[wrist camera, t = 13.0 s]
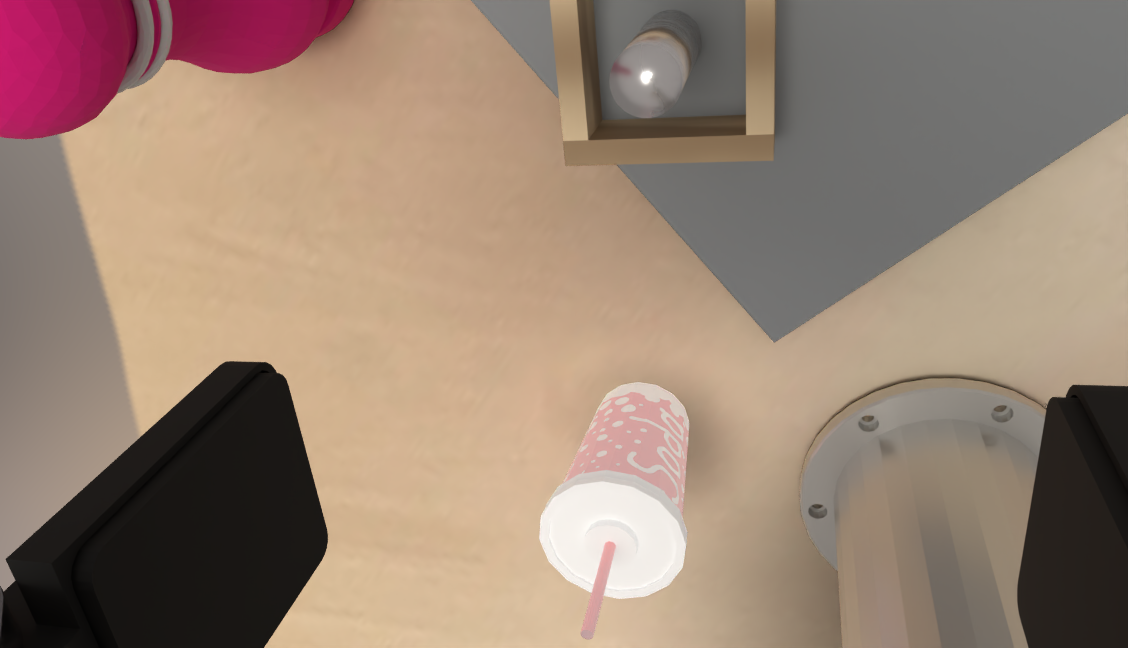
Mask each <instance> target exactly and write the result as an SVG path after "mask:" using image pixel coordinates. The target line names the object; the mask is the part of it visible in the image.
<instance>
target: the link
mask: <svg viewBox="0 0 1128 648" xmlns="http://www.w3.org/2000/svg"><path fill="white" fill-rule="evenodd" d="M550 10H551V21H552V31H553V41H554V52H555V62H556V73H557V83H558V93H559V104H560V114H561V125H562V135H563V145H564V156H565V166H583V165H621V164H660V163H699V162H738V161H774V145H775V81H776V0H746V115H724V116H697V117H671V118H644V119H618V120H602V110H601V97H600V83H599V70H598V57H597V44H596V30H595V17H594V4H593V0H550Z"/></svg>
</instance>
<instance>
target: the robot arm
mask: <svg viewBox="0 0 1128 648" xmlns="http://www.w3.org/2000/svg"><path fill="white" fill-rule="evenodd" d="M1000 405H1002V406H1000ZM997 406H1000V407H997ZM867 415H870V416H868V417H866V416H867ZM800 509H801V516H802V519H803V522H804V524H805V527H806V530H807V533H808V536H809V537H810V539H811V541H812V542H813V544H814V545H815V547H816V549H817V550H818V552H819V553H820V554H821V555H822V557H823V558H824V559H825V560H826V561H827V562H828V563H829V564H830V565H831V566H832V567H833V568H834V569H835V570H836V571H838V584H839V601H840V618H841V635H842V648H1128V386H1098V385H1072V386H1071V387H1070V388H1069V390H1068V392H1067V395H1066V398H1061V397H1052V398H1051V399H1050V400H1049V403H1048V405H1047V410H1046V409H1044V408H1043V407H1042V406H1041V405H1039V404H1038V403H1036V402H1034V401H1032V400H1030V399H1028V398H1026V397H1025V396H1023V395H1021V394H1019V393H1017V392H1015V391H1012V390H1009V389H1006V388H1003V387H1000V386H997V385H993V384H990V383H987V382H980V381H973V380H967V379H960V378H934V379H923V380H917V381H911V382H905V383H900V384H897V385H894V386H891V387H888V388H885V389H882V390H879V391H876V392H873V393H871V394H869V395H868V396H866V397H864V398H862V399H860V400H858V401H856V402H854V403H852V404H851V405H849V406H848V407H847V408H845V409H844V410H843V411H842V412H840V413H839V414H838V415H836V416H835V417H834V418H833V419H831V421H830V422H829V423H828V424H827V425H826V426H825V427H824V429H823V430H822V431H821V432H820V433H819V434H818V436H817V437H816V438H815V440H814V442H813V444H812V446H811V448H810V449H809V451H808V453H807V455H806V458H805V461H804V465H803V468H802V472H801V476H800ZM327 543H328V533H327V528H326V524H325V520H324V517H323V513H322V509H321V505H320V502H319V498H318V494H317V490H316V487H315V483H314V479H313V475H312V472H311V468H310V464H309V461H308V457H307V453H306V449H305V446H304V442H303V438H302V434H301V431H300V427H299V423H298V419H297V416H296V412H295V408H294V405H293V401H292V397H291V393H290V390H289V386H288V383H287V380H286V379H285V377H284V376H283V375H281V374H279V373H276V370H275V369H274V368H273V366H272V365H270V364H268V363H267V362H235V361H230V362H225V363H223V364H221V365H220V366H219V367H218V368H216V369H215V370H214V371H213V372H212V373H211V374H210V375H209V376H208V377H206V378H205V379H204V380H203V381H202V382H201V383H200V384H199V385H198V386H196V387H195V388H194V389H193V390H192V391H191V392H190V393H189V394H188V395H187V396H185V397H184V398H183V399H182V400H181V401H180V402H179V403H178V404H177V405H175V406H174V407H173V408H172V409H171V410H170V411H169V412H168V413H167V414H166V415H164V416H163V417H162V418H161V419H160V420H159V421H158V422H157V423H156V424H154V425H153V426H152V427H151V428H150V429H149V430H148V431H147V432H146V433H145V434H143V435H142V436H141V437H140V438H139V439H138V440H137V441H136V442H135V443H134V444H132V445H131V446H130V447H129V448H128V449H127V450H126V451H125V452H124V453H122V454H121V455H120V456H119V457H118V458H117V459H116V460H115V461H114V462H112V464H110V465H109V466H108V467H107V468H106V469H105V470H104V471H103V472H101V473H100V474H99V475H98V476H97V477H96V478H95V479H94V480H93V481H92V482H90V483H89V484H88V485H87V486H86V487H85V488H84V489H83V490H82V491H80V492H79V493H78V494H77V495H76V496H75V497H74V498H73V499H72V500H71V501H70V502H68V503H67V504H66V505H65V506H64V507H63V508H62V509H61V510H60V511H58V512H57V513H56V514H55V515H54V516H53V517H52V518H51V519H49V521H47V522H46V523H45V524H44V525H43V526H42V527H41V528H40V529H39V530H37V531H36V532H35V533H34V534H33V535H32V536H31V537H30V538H28V540H26V541H25V542H24V543H23V544H22V545H21V546H20V547H19V548H18V549H16V550H15V551H14V552H13V553H12V554H11V555H10V556H9V557H8V558H6V561H7V563H8V565H9V567H10V570H11V572H12V574H13V576H14V578H15V580H16V581H15V582H14V583H13V584H11V585H10V586H9V587H8V588H7V589H6V590H5V591H4V592H3V590H2V588H1V586H0V648H264V647H265V645H266V644H267V642H268V641H269V639H270V638H271V636H272V635H273V633H274V632H275V630H276V629H277V627H278V626H279V624H280V623H281V621H282V620H283V618H284V617H285V615H286V614H287V612H288V611H289V609H290V608H291V606H292V605H293V603H294V601H295V600H296V598H297V597H298V595H299V594H300V592H301V591H302V589H303V588H304V586H305V585H306V583H307V582H308V580H309V579H310V577H311V576H312V574H313V573H314V571H315V570H316V568H317V567H318V565H319V564H320V562H321V561H322V559H323V557H324V555H325V552H326V549H327Z"/></svg>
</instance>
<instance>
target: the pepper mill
mask: <svg viewBox="0 0 1128 648" xmlns="http://www.w3.org/2000/svg"><path fill="white" fill-rule="evenodd" d="M353 1H354V0H0V137H4V138H15V139H34V138H43V137H47V136H52V135H57V134H61V133H65V132H69V131H71V130H74V129H76V128H78V127H80V126H82V125H84V124H86V123H87V122H89V121H91V120H93V119H94V118H96V117H97V116H98V115H99V114H100V113H101V112H102V110H103V109H104V108H105V107H106V106H107V105H108V104H109V102H110V101H111V100H112V99H113V98H114V97H115V95H116V94H117V93H120V92H123V91H124V90H126V89H130V88H134V87H136V86H139V85H142V84H144V83H145V82H147V81H148V80H150V79H151V78H152V77H153V76H154V75H155V74H156V73H157V72H158V71H159V70H160V68H161V67H162V65H163V64H164V62H165V60H181V61H185V62H189V63H192V64H194V65H197V66H199V67H202V68H204V69H208V70H212V71H216V72H225V73H255V72H259V71H264V70H268V69H272V68H276V67H278V66H281V65H283V64H286V63H289V62H290V61H292V60H293V59H295V58H296V57H298V56H299V55H300V54H301V53H303V52H304V51H305V50H306V49H307V48H308V47H309V45H310V44H311V43H312V42H313V40H314V39H315V38H316V37H319V36H321V35H323V34H325V33H327V32H329V31H330V30H332V29H334V28H335V27H336V26H337V25H338V24H339V23H340V22H341V21H342V20H343V19H344V17H345V16H346V14H347V13H348V11H349V10H350V8H351V6H352V4H353Z"/></svg>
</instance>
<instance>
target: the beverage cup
mask: <svg viewBox="0 0 1128 648" xmlns="http://www.w3.org/2000/svg"><path fill="white" fill-rule="evenodd" d="M688 434H689V420H688V417H687V413H686V410H685V407H684V406H683V405H682V404H681V403H680V401H679V400H678V399H677V398H676V397H675V396H674V395H673V394H672V393H670V392H669V391H667V390H665V389H663V388H661V387H659V386H658V385H654V384H648V383H642V382H635V383H629V384H624V385H620V386H618V387H617V388H615V389H614V390H612V391H611V392H609V393H607V394H606V396H605V398H604V399H603V401H602V402H601V404H600V405H599V407H598V409H597V411H596V414H595V416H594V418H593V420H592V422H591V424H590V426H589V428H588V430H587V433H586V435H585V437H584V439H583V441H582V443H581V445H580V447H579V450H578V452H577V454H576V456H575V458H574V460H573V462H572V464H571V467H570V469H569V471H568V473H567V475H566V477H565V479H564V481H563V483H562V484H561V485H559V486H558V487H557V489H556V490H555V492H554V493H553V495H552V496H551V498H550V500H549V501H548V503H547V504H546V508H545V509H544V511H543V512H542V515H541V520H540V537H539V539H540V542H541V544H542V546H543V549H544V551H545V554H546V556H547V558H548V561H549V562H550V563H551V564H552V565H553V566H554V567H555V568H556V569H557V570H558V571H559V572H560V573H561V574H562V575H563V576H564V577H565V578H566V579H567V580H568V581H570V582H572V583H574V584H575V585H577V586H579V587H581V588H583V589H585V590H587V591H588V592H590V593H591V597H590V600H589V604H588V608H587V611H586V615H585V619H584V622H583V626H582V630H581V636H582V637H583V638H585V639H592V638H593V636H594V632H595V628H596V624H597V620H598V616H599V612H600V608H601V604H602V600H603V596H608V597H612V598H617V599H624V598H634V597H644V596H648V595H650V594H652V593H654V592H656V591H658V590H660V589H662V588H664V587H666V586H668V585H669V584H670V583H671V582H672V580H673V579H674V578H675V577H676V575H677V574H678V573H679V572H680V570H681V569H682V568H683V562H684V556H685V550H686V543H687V540H686V538H687V530H686V527H685V524H684V521H683V504H684V490H685V476H686V462H687V448H688Z"/></svg>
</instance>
